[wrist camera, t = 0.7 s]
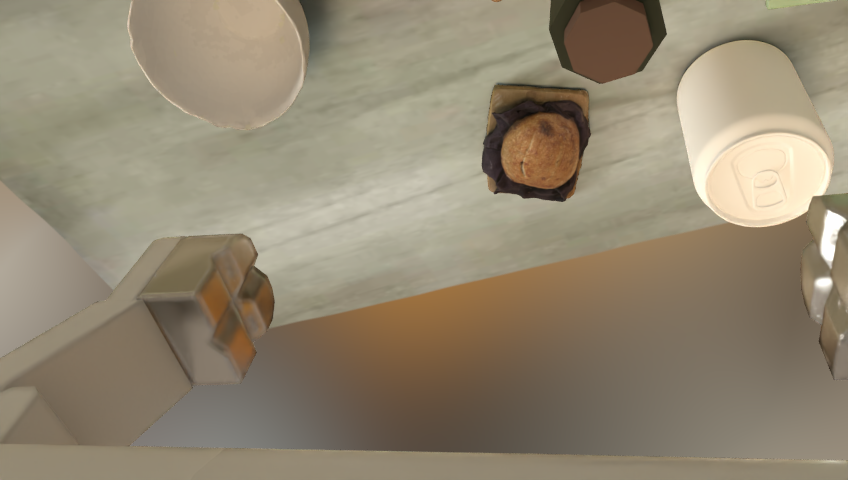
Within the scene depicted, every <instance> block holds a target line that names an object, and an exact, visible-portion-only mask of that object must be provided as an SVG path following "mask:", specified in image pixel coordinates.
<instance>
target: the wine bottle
mask: <svg viewBox="0 0 848 480" xmlns="http://www.w3.org/2000/svg"><path fill="white" fill-rule="evenodd" d="M549 31H550V34H551V37H552V40H553V42H554V45H555V48H556V51H557V54H558V57H559V60H560V63H561V66H562V68H565V69H567V70H569V71H572V72H574V73H576V74H579V75H581V76H583V77H585V78H588V79H590V80H592V81H595V82H597V83H599V84H600V83H602V84H603V83H606V82H609V81H613V80H616V79H619V78H623V77H626V76H629V75H632V74H635V73H637V72H640V71H642V70H643V69H644V67H645V66H646V64H647V63H648V61H649V60H650V58H651V57H652V55H653V54H654V52H655V51H656V49H657V48H658V46H659V45H660V43H661V42H662V40H663V39H664V38H665V36H666V35H667V33H666V28H665V24H664V20H663V15H662V11H661V6H660V2H659V0H551V8H550V23H549Z"/></svg>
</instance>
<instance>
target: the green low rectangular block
mask: <svg viewBox="0 0 848 480" xmlns="http://www.w3.org/2000/svg"><path fill="white" fill-rule="evenodd" d="M828 1H835V0H766V4H765V5H766V7H767V9H768V10H770V9H777V8H784V7H791V6H799V5H806V4H813V3H820V2H828Z"/></svg>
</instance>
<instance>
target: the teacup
mask: <svg viewBox="0 0 848 480" xmlns="http://www.w3.org/2000/svg"><path fill="white" fill-rule="evenodd" d="M127 28H128V31H129V35H130V37H131V40H130V46H131V49H132V51H133V53H134V56H135V58H136V60H137V62H138V64H139V65H140V67H141V68H142V70H143V72H144V74H145V75H146V77H147V78H148V80H149V81H150V82H151V84H152V85H153V86H154V87H155V88H156V89H157V90H158V91H159V92H160V93H161V94H162V95H163V96H164V97H165V98H166V99H167V100H168V101H169V102H171V103H172V104H174V105H176V106H177V107H178V108H180V109H181V110H183V111H184V112H185V113H187V114H189V115H192V116H196V117H198V118H199V119H202V120H205V121H207V122H210V123H211V124H213V125H215V126H217V127H222V128H227V127H232V128H234V129H237V130H240V129H245V130H251V129H253V128H260V127H262V126H265V125H266V124H268V123H270V122H271V121H273V120H275V119H277V118H278V117H280V116H281V115H283V114H284V113H285V112H286V111H287V110H288V109H289V108H290V107H291V105H292V104H293V103H294V101H295V99H296V97H297V96H298V94H299V92H300V90H301V89H302V87H303V83H304V80H305V77H306V72H307V66H308V59H309V31H308V25H307V20H306V17H305V14H304V11H303V8H302V6H301V4H300V2H299V0H132V1H131V6H130V12H129V16H128V23H127Z"/></svg>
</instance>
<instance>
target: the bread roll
mask: <svg viewBox="0 0 848 480" xmlns="http://www.w3.org/2000/svg"><path fill="white" fill-rule="evenodd" d="M588 105H589V96H588V92H586V91H584V90H581V91H580V90H579V89H578V90H569V89H560V90H559V89H552V88H545V89H544V88H537V87H530V86H524V87H523V86H511V85H510V86H508V85H507V86H505V85H499V84H498V85H495V86H494V89H493V92H492V95H491V101H490V108H489V109H490V110H489V115H488V116H489V117H488V124H487V136H486V137H485V140H484V142H483V144H484V151H483V155H482V169H483V172H484V173H486V174H487V177H488V178H487V179H488V187H489V190H490V191H491V192H494V194H497V193H511V194H518V195H520V196H521V197H522V198H524V199H525V198H539V199H543V200H551V201H555V200H556V201H561V202H563V201H566V198H570V197H571V196H572V195H573V194H574V191H575V189H576V187H575V185H576V182H577V179H578V178H577V176H578V175H579V170H580V168H581V165H582V164H581V162H582V156H583V151H584V149H585V147H586V146H587V145H588V138H589V137H590V135H591V133H590V129H589V127H588V122H589V119H588V110H589V108H588Z"/></svg>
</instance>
